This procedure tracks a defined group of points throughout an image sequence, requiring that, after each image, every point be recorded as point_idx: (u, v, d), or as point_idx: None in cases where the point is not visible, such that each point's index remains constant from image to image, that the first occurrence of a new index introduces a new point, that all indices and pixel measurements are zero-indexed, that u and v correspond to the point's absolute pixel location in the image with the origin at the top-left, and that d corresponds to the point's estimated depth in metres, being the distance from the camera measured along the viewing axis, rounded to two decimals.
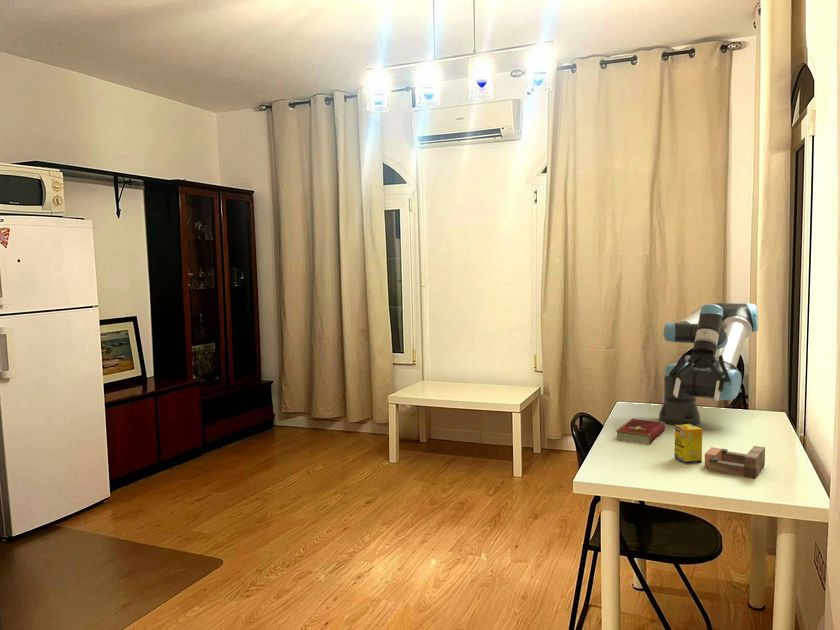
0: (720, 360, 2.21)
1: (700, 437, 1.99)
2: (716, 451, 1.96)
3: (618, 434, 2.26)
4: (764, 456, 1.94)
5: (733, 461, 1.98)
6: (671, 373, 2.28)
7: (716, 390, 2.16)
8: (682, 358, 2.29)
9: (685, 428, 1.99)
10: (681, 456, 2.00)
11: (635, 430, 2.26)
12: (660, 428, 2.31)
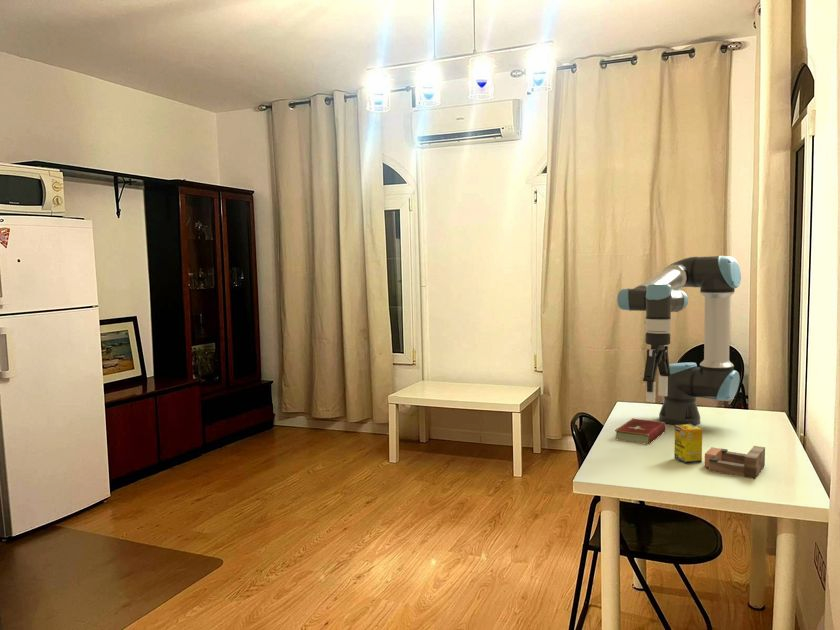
0: None
1: (700, 437, 1.99)
2: (716, 451, 1.96)
3: (617, 434, 2.26)
4: (764, 456, 1.94)
5: (733, 461, 1.98)
6: None
7: None
8: None
9: (685, 428, 1.99)
10: (681, 456, 2.00)
11: (634, 430, 2.26)
12: (660, 428, 2.31)
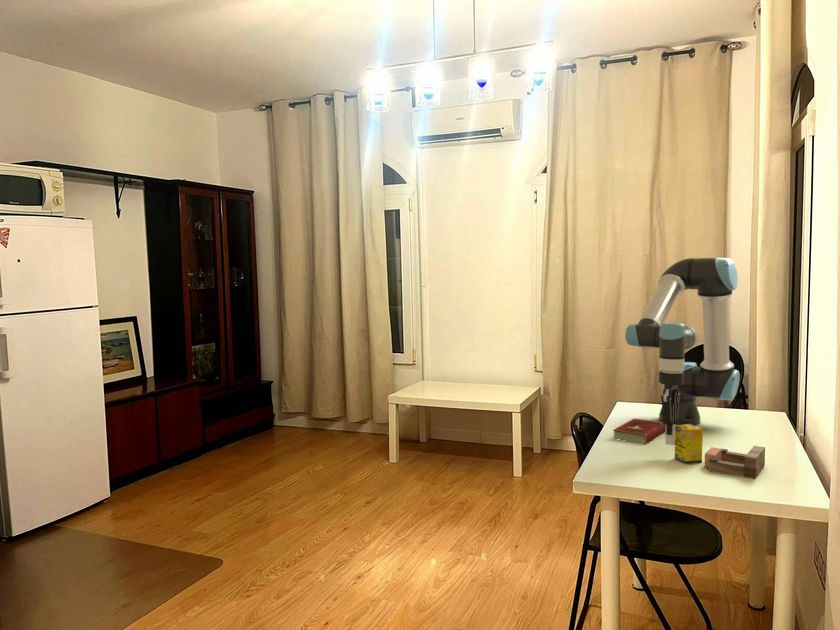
0: None
1: (700, 437, 1.99)
2: (716, 451, 1.96)
3: (615, 433, 2.27)
4: (764, 456, 1.94)
5: (733, 461, 1.98)
6: None
7: None
8: None
9: (685, 428, 1.99)
10: (681, 456, 2.00)
11: (633, 430, 2.26)
12: (659, 428, 2.31)
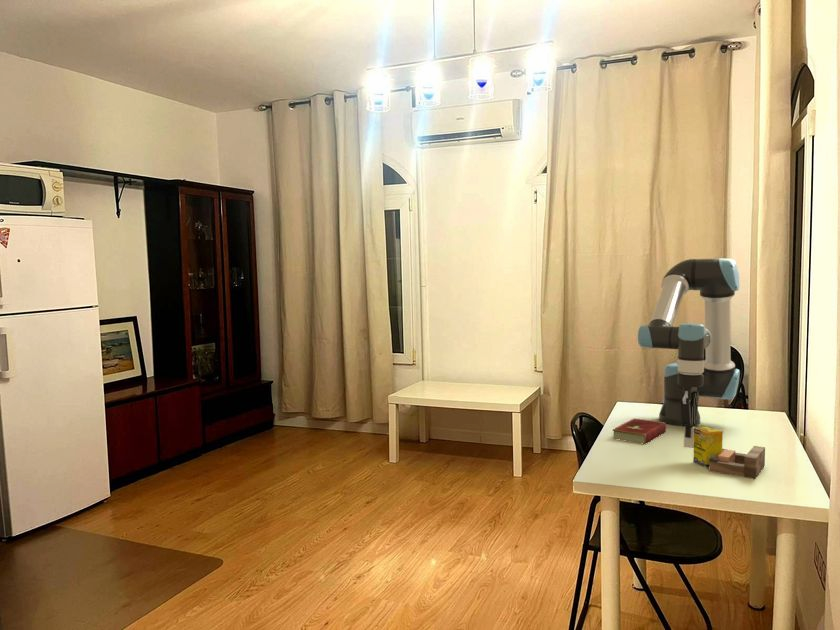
0: None
1: (720, 440, 1.95)
2: (730, 453, 1.94)
3: (615, 433, 2.27)
4: (764, 456, 1.94)
5: None
6: None
7: None
8: None
9: (705, 431, 1.95)
10: (701, 459, 1.96)
11: (632, 430, 2.26)
12: (659, 428, 2.31)
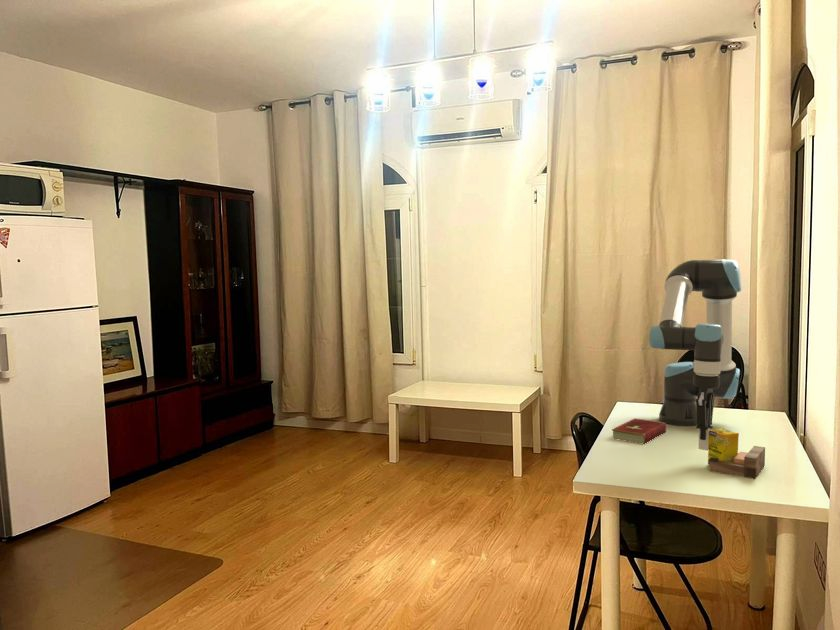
0: None
1: (736, 442, 1.93)
2: None
3: (614, 433, 2.27)
4: (764, 456, 1.94)
5: None
6: None
7: None
8: None
9: (721, 433, 1.92)
10: None
11: (631, 429, 2.27)
12: (659, 429, 2.31)
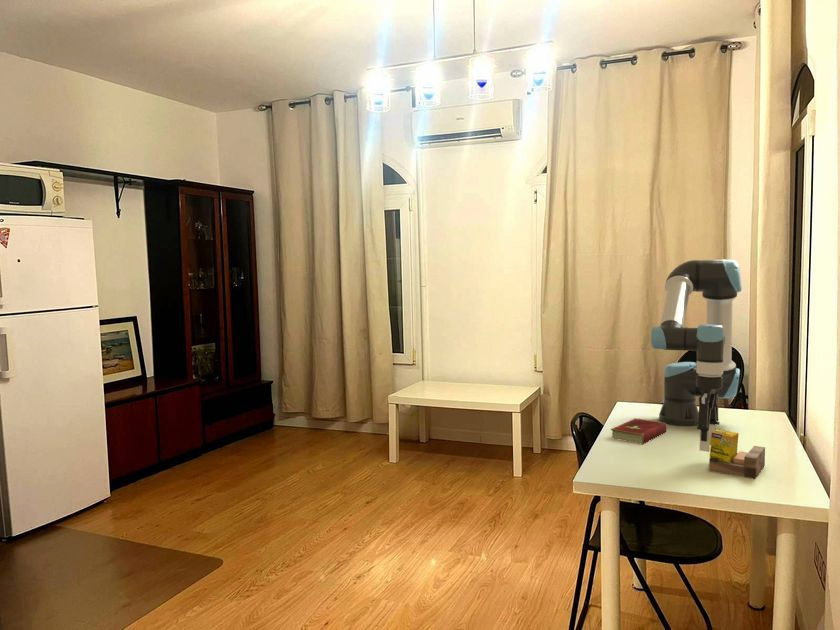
0: None
1: (737, 442, 1.93)
2: (745, 455, 1.91)
3: (613, 433, 2.28)
4: (764, 456, 1.94)
5: None
6: None
7: None
8: None
9: (727, 434, 1.91)
10: None
11: (631, 429, 2.27)
12: (659, 429, 2.31)
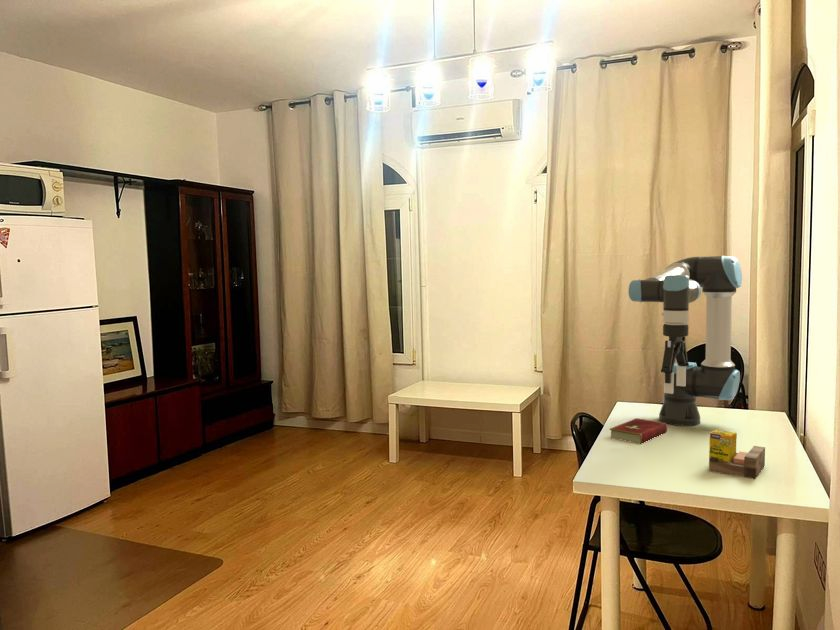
0: None
1: (735, 441, 1.93)
2: (745, 455, 1.91)
3: (612, 432, 2.28)
4: (764, 456, 1.94)
5: None
6: None
7: None
8: None
9: (725, 434, 1.91)
10: None
11: (629, 429, 2.27)
12: (659, 429, 2.31)
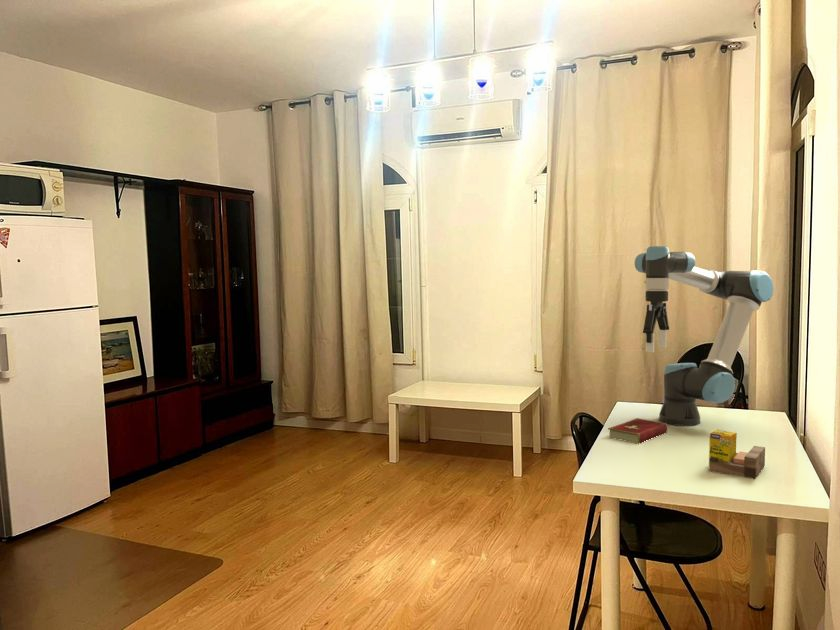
0: None
1: (735, 441, 1.93)
2: (745, 455, 1.91)
3: (611, 432, 2.29)
4: (764, 456, 1.94)
5: None
6: None
7: None
8: None
9: (725, 434, 1.91)
10: None
11: (628, 429, 2.27)
12: (658, 429, 2.31)
